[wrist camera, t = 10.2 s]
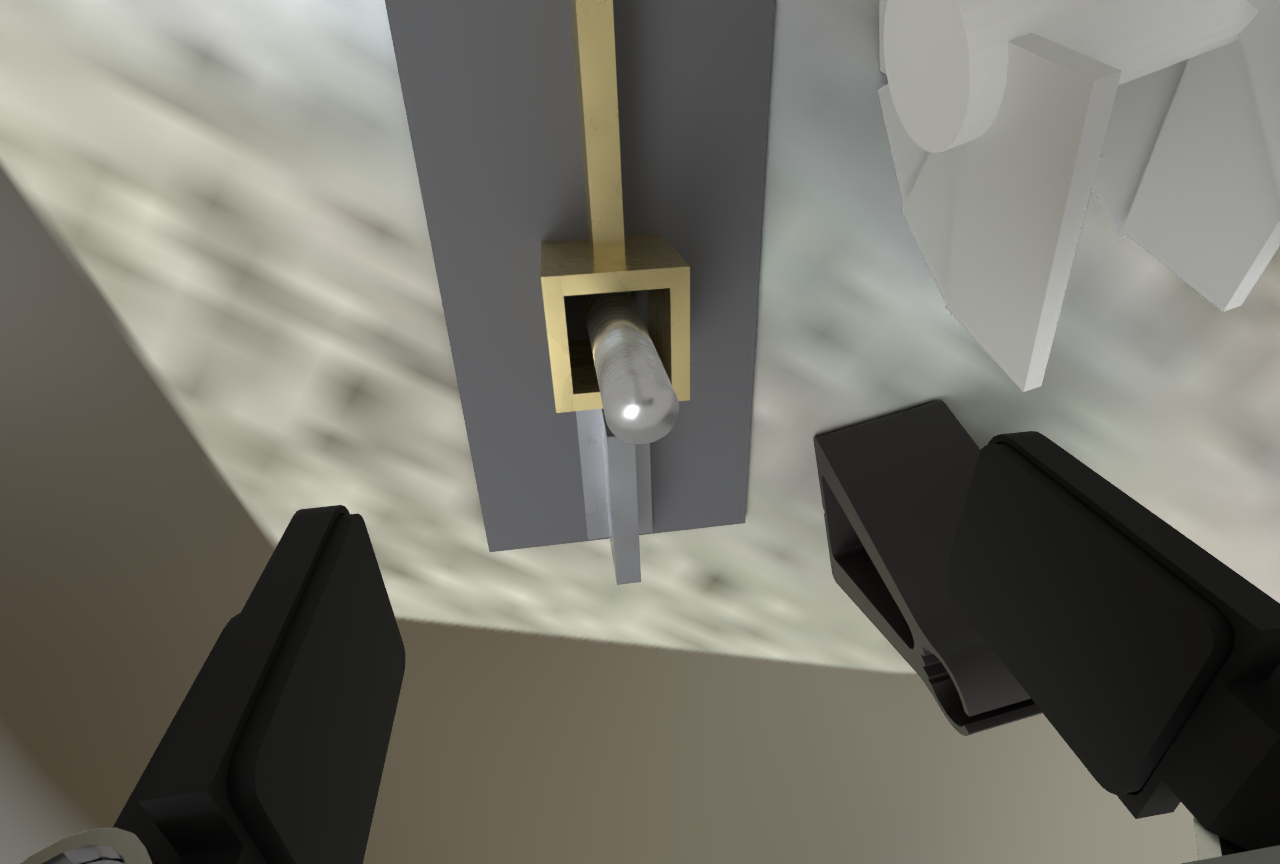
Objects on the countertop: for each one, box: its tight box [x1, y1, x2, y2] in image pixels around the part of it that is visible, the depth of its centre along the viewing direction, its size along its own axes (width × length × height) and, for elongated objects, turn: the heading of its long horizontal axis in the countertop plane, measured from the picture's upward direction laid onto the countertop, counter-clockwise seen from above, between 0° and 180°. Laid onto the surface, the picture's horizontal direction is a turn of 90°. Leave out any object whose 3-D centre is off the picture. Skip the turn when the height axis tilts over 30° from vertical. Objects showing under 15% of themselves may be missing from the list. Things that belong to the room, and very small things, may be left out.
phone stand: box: [814, 400, 1042, 736], centre depth 25 cm, size 9×6×12 cm, turn 14°
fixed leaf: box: [576, 291, 679, 585], centre depth 22 cm, size 12×3×10 cm, turn 2°
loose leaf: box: [541, 0, 690, 413], centre depth 20 cm, size 12×4×5 cm, turn 2°
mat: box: [385, 0, 775, 552], centre depth 24 cm, size 21×12×1 cm, turn 2°
